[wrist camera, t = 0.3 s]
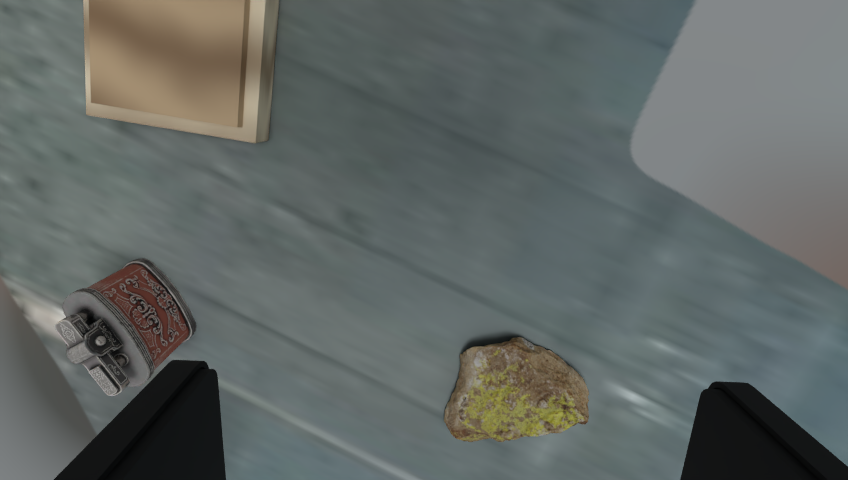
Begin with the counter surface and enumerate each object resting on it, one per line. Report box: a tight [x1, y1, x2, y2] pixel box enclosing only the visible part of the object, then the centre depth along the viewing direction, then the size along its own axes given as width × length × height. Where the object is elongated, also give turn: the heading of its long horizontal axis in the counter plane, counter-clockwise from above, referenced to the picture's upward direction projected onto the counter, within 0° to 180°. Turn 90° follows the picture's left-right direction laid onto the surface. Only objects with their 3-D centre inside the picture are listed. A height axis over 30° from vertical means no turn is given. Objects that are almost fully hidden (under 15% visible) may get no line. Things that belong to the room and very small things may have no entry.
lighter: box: [55, 259, 196, 396], centre depth 36 cm, size 8×3×10 cm, turn 28°
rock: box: [444, 337, 589, 442], centre depth 42 cm, size 12×7×10 cm
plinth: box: [83, 0, 279, 143], centre depth 33 cm, size 12×12×4 cm
